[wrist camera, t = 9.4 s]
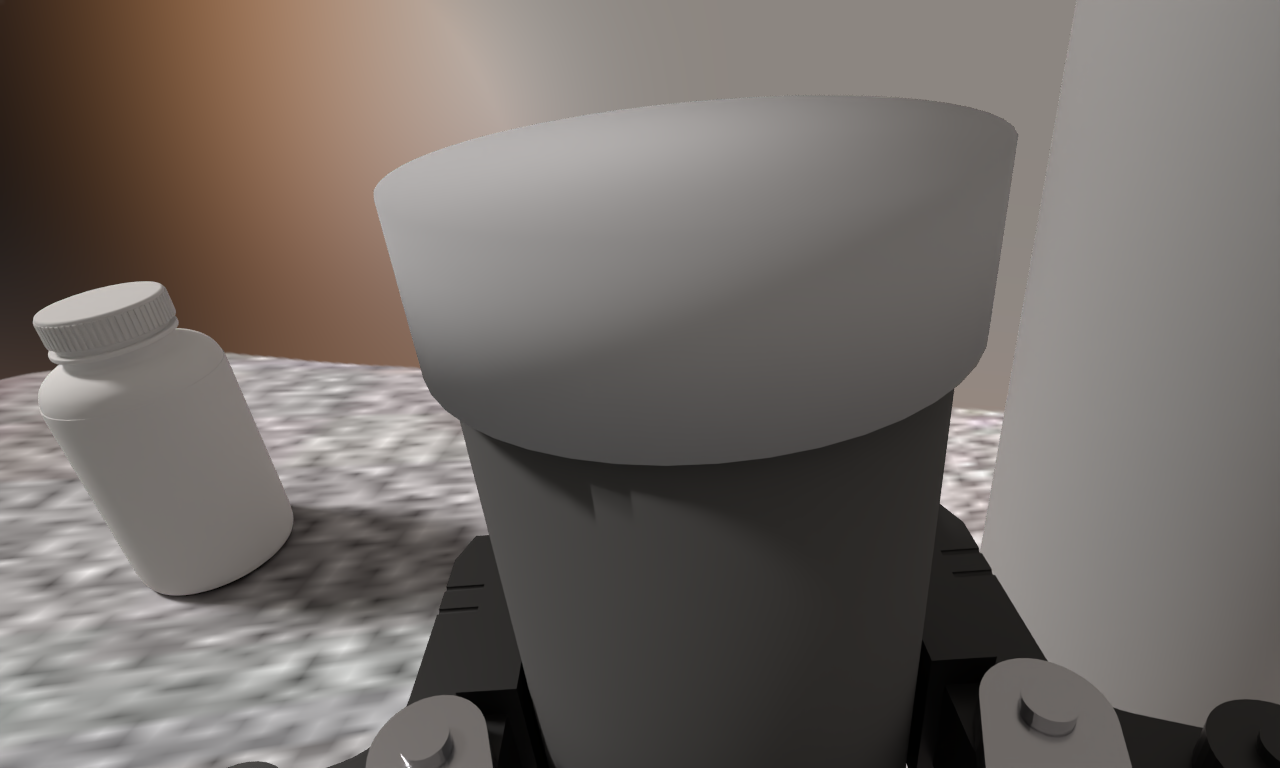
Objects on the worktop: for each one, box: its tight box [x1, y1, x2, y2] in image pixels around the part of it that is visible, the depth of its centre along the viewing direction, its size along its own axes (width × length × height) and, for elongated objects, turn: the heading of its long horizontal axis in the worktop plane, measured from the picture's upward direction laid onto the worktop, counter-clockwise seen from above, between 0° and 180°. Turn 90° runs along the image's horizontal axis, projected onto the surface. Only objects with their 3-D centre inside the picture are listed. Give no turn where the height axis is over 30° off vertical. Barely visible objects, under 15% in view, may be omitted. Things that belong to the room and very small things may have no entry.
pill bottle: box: [33, 281, 294, 595], centre depth 36 cm, size 8×8×15 cm
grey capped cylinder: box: [374, 95, 1018, 768], centre depth 10 cm, size 5×5×15 cm
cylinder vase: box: [980, 0, 1280, 728], centre depth 23 cm, size 12×12×25 cm
